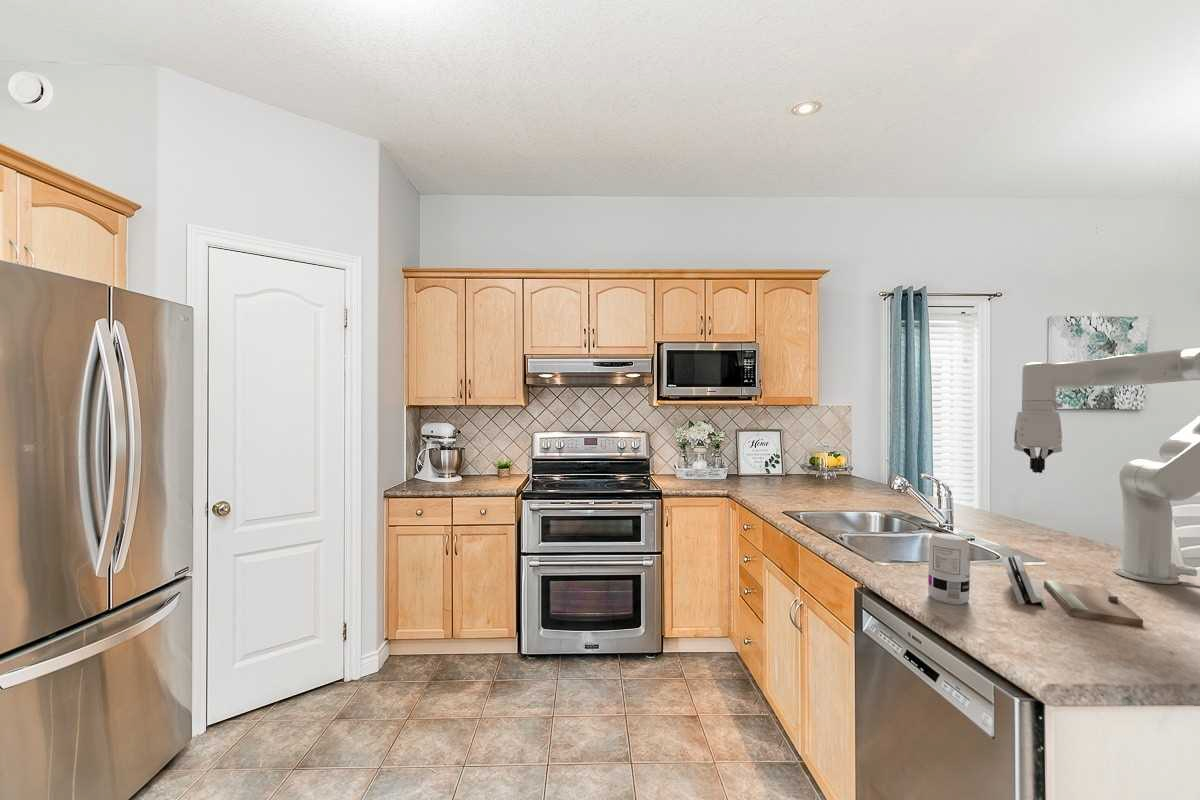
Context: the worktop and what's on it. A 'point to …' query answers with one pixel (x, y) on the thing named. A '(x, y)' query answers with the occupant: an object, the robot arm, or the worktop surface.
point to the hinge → (1022, 581)
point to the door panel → (1092, 603)
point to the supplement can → (949, 568)
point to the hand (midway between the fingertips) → (1037, 472)
